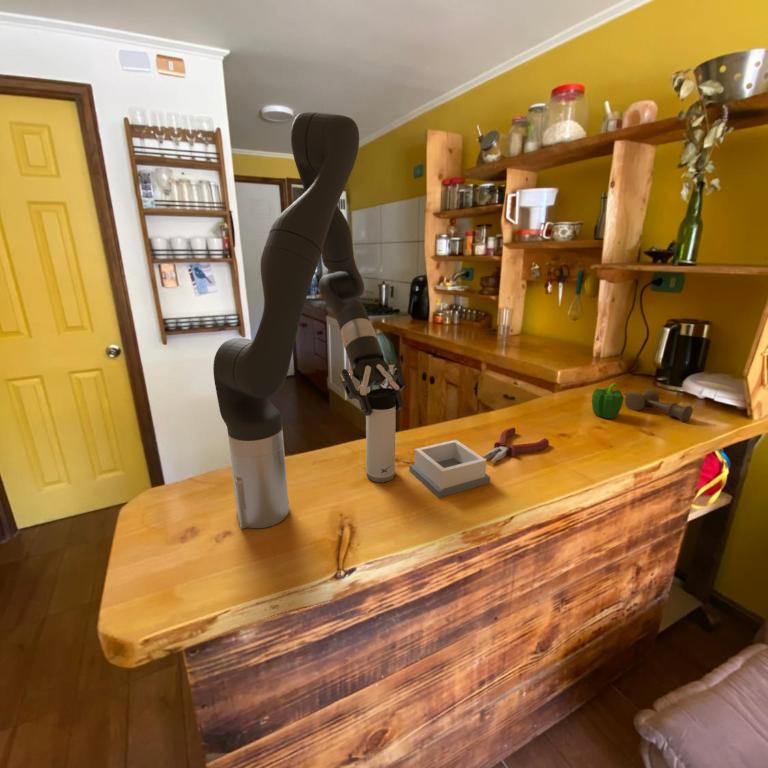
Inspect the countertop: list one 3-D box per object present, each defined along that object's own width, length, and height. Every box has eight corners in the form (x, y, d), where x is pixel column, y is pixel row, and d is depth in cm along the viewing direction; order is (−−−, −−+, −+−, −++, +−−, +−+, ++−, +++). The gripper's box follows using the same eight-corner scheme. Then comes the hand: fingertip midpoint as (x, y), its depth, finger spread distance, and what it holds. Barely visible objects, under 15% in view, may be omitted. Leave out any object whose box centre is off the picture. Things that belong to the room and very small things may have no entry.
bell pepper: (602, 422, 121) (608, 389, 118) (584, 412, 128) (589, 381, 125) (627, 420, 122) (633, 387, 119) (608, 410, 130) (613, 379, 127)
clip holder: (438, 498, 83) (439, 473, 82) (409, 471, 94) (409, 449, 92) (489, 483, 89) (491, 460, 87) (456, 459, 99) (458, 438, 97)
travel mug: (391, 485, 88) (392, 396, 82) (362, 479, 90) (361, 392, 84) (399, 471, 94) (401, 387, 87) (372, 466, 96) (372, 383, 90)
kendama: (677, 427, 119) (612, 403, 135) (695, 421, 123) (630, 399, 140) (682, 407, 117) (616, 386, 133) (700, 402, 121) (634, 382, 138)
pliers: (465, 456, 101) (466, 446, 101) (510, 433, 114) (511, 424, 113) (506, 474, 93) (507, 464, 92) (550, 447, 106) (551, 438, 105)
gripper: (334, 337, 86) (357, 409, 79) (395, 331, 92) (421, 398, 85) (327, 356, 92) (347, 424, 86) (385, 350, 98) (408, 413, 92)
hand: (384, 411), depth 85 cm, fingers closed on travel mug, 6 cm apart
